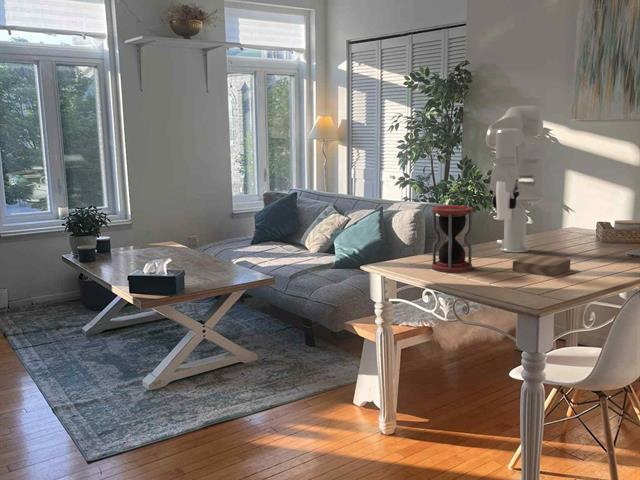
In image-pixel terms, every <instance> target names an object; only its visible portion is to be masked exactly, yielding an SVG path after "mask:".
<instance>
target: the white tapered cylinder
mask: <svg viewBox="0 0 640 480" xmlns="http://www.w3.org/2000/svg"><path fill="white" fill-rule="evenodd" d="M505 183H506V182H498V181H497V185H496V205H497V207H496V219H497V220H500V221H504V220H509V219H511V211H512V209H510V199H511V195H510V192H507V191H505V190H506V187H505Z"/></svg>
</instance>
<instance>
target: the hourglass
mask: <svg viewBox="0 0 640 480" xmlns="http://www.w3.org/2000/svg"><path fill="white" fill-rule="evenodd" d="M431 212H432V230H433V232H434V234H435V235H436V240H435V242H434V243H433V245H432V263H431V268H432V270H433V271H437V272H443V273H464V272H465V273H466V272H469V271H472V269H473V264H472V250H473V249H472V245H471V243H470V242H469V239H468V238H469V235H471V233H472V230H473V212H474V207H472V206H468V205H456V204H453V205H437V206H433V207H431ZM436 215H437V216H439V217H438V223H439V224H438V225H439V227H440V229H441V230H442V232H443V233H444V234H445V235H446V236H447V237H448V239H447V240H446V241H445V242H444V243H443V244H442V246H441V247H440V248H439V251H438V260H436V257H437V255H436V254H437V252H436V251H437V249H436V248H437V245H438V244H439V242H440V240H441V235H440V233H439V232H438V230H437V216H436ZM467 215H468V231H467V232H466V233H465V235H464V238H463V240H464V243H465V245H467V247H468V258H467V259H468V260H467V261H466V251H465V248H464V246H462V245H461V243H460V242H459V241H458V240H457V239H456V237H457V236H458V235H460V234H461V232H462V231H463V230H464V229H465V227H466V223H467V217H466V216H467Z"/></svg>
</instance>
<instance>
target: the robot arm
mask: <svg viewBox="0 0 640 480" xmlns="http://www.w3.org/2000/svg"><path fill="white" fill-rule="evenodd" d="M543 132H544V121H543V113H542V111H541V109H540V107H539V106H536V105H515V106H512V107H509V109H507V111H506V112H505V114H504V117H503V118H502V119H500V120H497V121H495V122H493V123H490V125H489V127H488V128H487V131H486V134H485V142H486V145H487V146H488V147H489V148H491V149H495V157H494V158H493V159H492V162H493V163H494V164H495V165H493V166H492V169H491V176H490V182H489V184H488V185H487V186H486V190H487V191H488V192H489V194H490V195H491V197H492V205H493V208H494V209H495V208H496V209H497V205H496V185H497V181H498V182H506V183H505V187H506V190H505V191H507V192H510V195H511V199H510V209H512V211H511V219H509V220H503V221H504V224H503V225H504V226H503V227H504V228H503V229H504V232H503V239H497V240H496V244H497V245H501V246H500V248H499V249H500V251H502V252H505V253H517V254H518V253H525V252H529V250H530V247H528V246H526V243H527V240H526V239H527V238H526V237H527V210H526V209H525V207H524V206H523V205H522V204H529V203H530V204H538V203H541V202H542V201H543V200H544V197H545V196H544V193H545V178H546V177H545V175H546V174H545V172H546V171H545V170H546V168H545V167H546V166H545V162H544V160H543V158H541V157H537V156H534V157H533V156H531V157H529V155H528V153H529V152H528V151H529V146H528V144H527V142H526V141H525V137H526V138H527V137H529V138H530V137H538V136H539V137H540V136H541V135H542V133H543ZM520 179H526V180H527V179H530V180H531V179H532V180H533V181H521V180H520Z"/></svg>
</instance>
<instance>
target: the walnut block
mask: <svg viewBox="0 0 640 480" xmlns="http://www.w3.org/2000/svg"><path fill="white" fill-rule="evenodd" d="M570 270H571V258H570V259H568V258H561V257H554V256H553V257H552V256H546V255H545V256H544V255H537V254H531V255H530V254H529V255H528V256H524V257H522V258H521V257H520V258H518V259H515V260H513V261H512V271H513V272H518V273H523V272H524V274H530V273H531V275H537V276H544V277H554V276H558V275H560V274H562V273H565V272H567V271H570Z"/></svg>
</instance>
